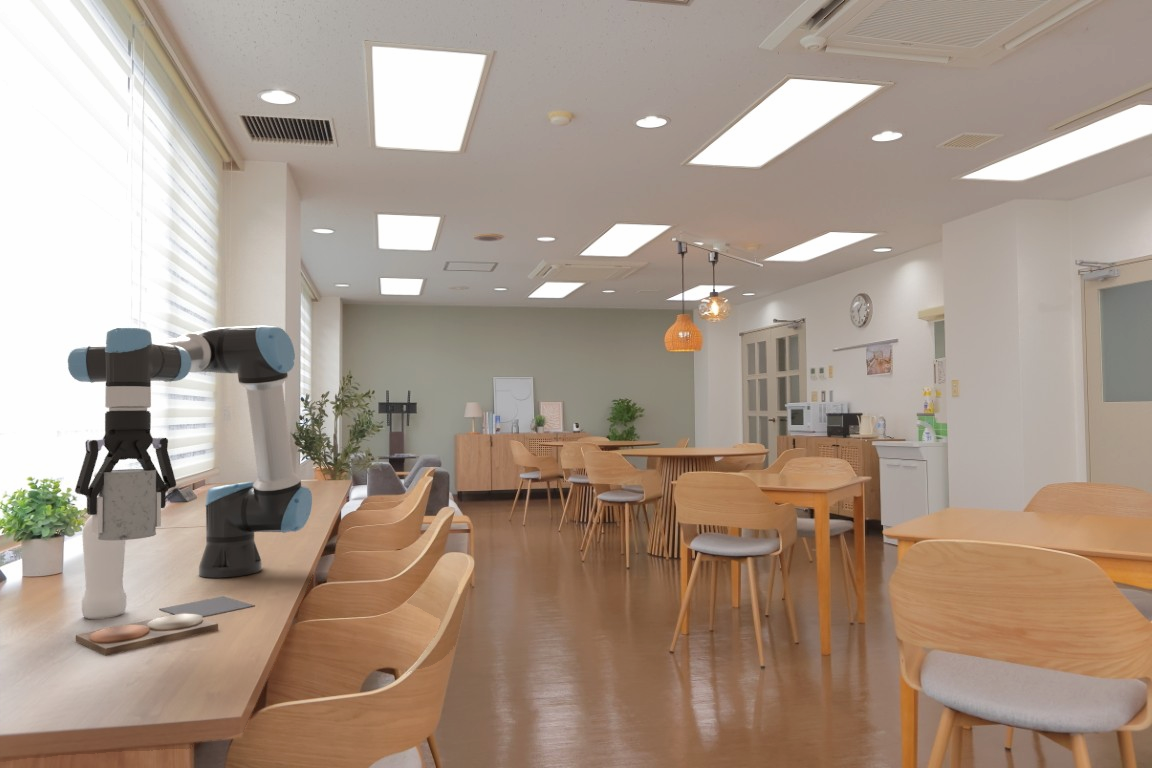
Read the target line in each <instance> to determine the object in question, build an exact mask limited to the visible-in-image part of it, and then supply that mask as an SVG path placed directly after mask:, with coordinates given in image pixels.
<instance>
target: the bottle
mask: <svg viewBox="0 0 1152 768" xmlns="http://www.w3.org/2000/svg"><path fill="white" fill-rule="evenodd" d="M97 473H98V471H96V472H95V473H94V475H93V477H94V478H95V476H96V475H97ZM98 496H99V494H98ZM81 537H82V549H83V550H82V551H83V565H84V580H85V581H84V582H85V585H84V586H85V590H84V594H83V596H82V599H81V612H82V616H83V617H84V618H85V619H86V620H101V619H109V618H114V617H118V616H121V615H122V614H123V613H124V612H125V611H126V608H127V593H126V592H125V589H124V588H125V587H124V571H125V570H124V568H125V567H124V566H125V551H126V540H99V539H98V533H94V532H92V515H90V516H89V517H88V518H87V520H86V521H85V523H84V526H83V527H82V536H81Z"/></svg>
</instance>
